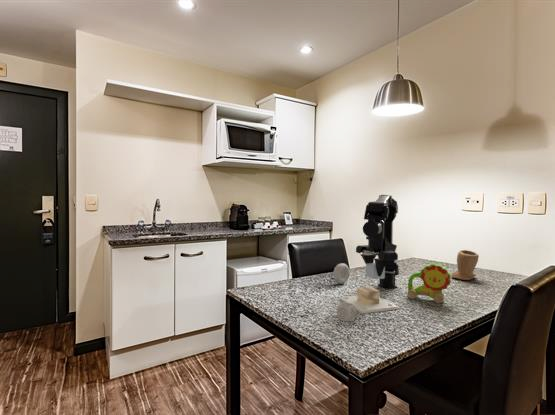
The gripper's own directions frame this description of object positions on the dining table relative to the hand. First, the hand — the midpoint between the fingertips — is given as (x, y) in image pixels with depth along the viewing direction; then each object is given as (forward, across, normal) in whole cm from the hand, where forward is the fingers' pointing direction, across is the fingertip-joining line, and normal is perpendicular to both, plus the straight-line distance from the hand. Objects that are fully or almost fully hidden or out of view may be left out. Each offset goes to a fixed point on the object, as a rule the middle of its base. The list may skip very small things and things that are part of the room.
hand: (375, 274), depth 122 cm
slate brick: (+1, 0, 0) cm, 1 cm away
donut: (+12, +31, -4) cm, 33 cm away
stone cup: (+12, +21, -74) cm, 78 cm away
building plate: (+12, +2, +2) cm, 12 cm away
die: (+12, -9, +18) cm, 24 cm away
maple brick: (+11, +2, +2) cm, 11 cm away
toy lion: (+12, -1, -26) cm, 29 cm away
